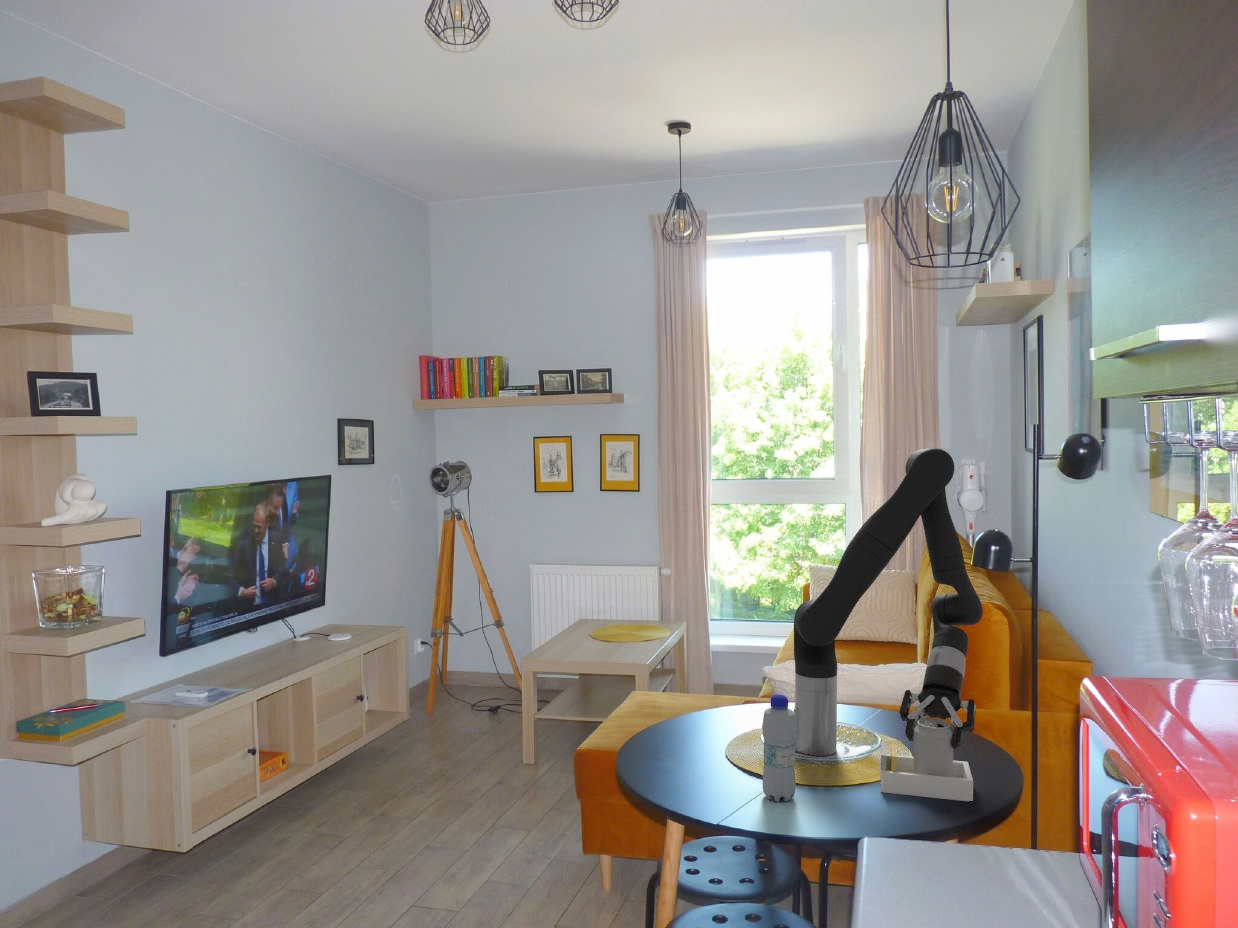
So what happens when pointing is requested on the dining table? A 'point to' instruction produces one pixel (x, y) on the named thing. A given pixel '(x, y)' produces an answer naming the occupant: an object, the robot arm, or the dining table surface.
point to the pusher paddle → (893, 758)
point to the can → (933, 748)
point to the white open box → (925, 779)
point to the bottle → (779, 749)
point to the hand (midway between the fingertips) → (932, 742)
